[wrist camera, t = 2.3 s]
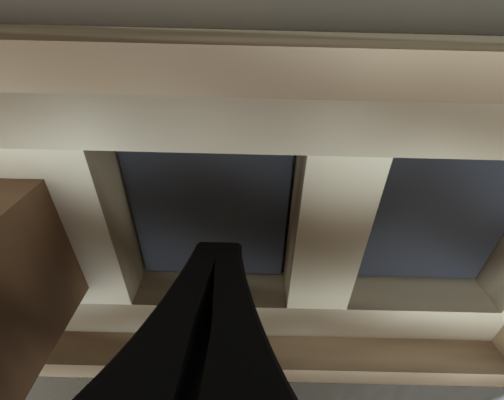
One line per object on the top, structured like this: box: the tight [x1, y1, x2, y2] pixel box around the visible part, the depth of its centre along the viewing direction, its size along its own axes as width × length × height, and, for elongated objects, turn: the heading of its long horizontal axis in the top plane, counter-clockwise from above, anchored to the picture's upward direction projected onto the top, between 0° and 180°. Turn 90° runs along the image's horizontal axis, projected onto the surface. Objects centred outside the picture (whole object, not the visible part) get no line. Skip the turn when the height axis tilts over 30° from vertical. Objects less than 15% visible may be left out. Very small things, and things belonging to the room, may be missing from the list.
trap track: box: [0, 24, 504, 387], centre depth 11 cm, size 13×32×4 cm, turn 89°
